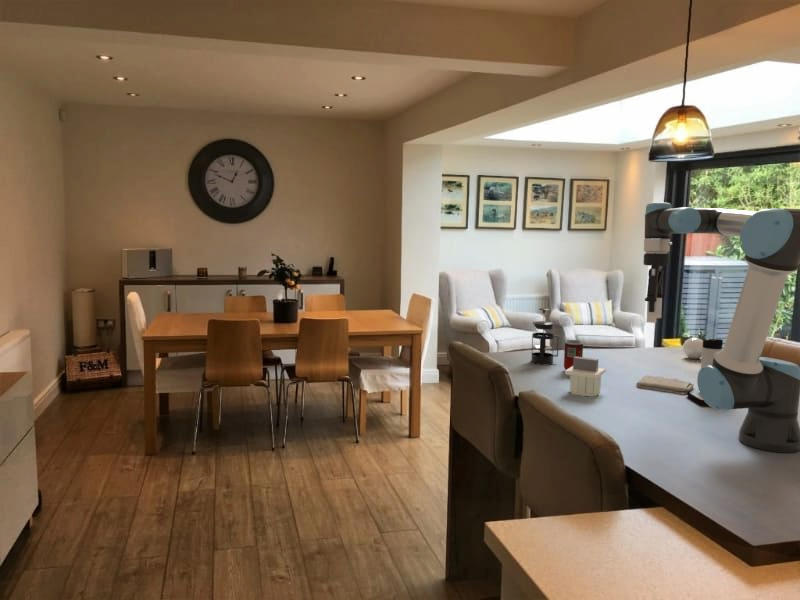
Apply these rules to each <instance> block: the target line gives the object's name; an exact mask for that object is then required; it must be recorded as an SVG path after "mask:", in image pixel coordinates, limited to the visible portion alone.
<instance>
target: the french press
mask: <svg viewBox="0 0 800 600" xmlns="http://www.w3.org/2000/svg"><path fill="white" fill-rule="evenodd" d="M538 310H540V311H542V313H543V317H542V318H543V319H542V320H541V321H540V320H539V321H533V322H532V324H533V325H534V327H535V329H537V330H542V332H533V333H532V337H531V359H530V362H531V363H532V364H536V365H542V364H548V365H553V364H554V363H553V362H554V358H555V357H559V341H560V340H559V339H560V336H559V334H558V335H557V334H554V333H550V332H544V330H548V331H549V330H553V329H554V326H555V322H552V321H548V320H547V321H545V314H546V311H549V310H550V308H545V307H544V308H543V307H541V308H539V309H538ZM555 338H557V346H556V347H557V348H556V354H554V353H550V352H546V351H554V349H555V347H554V346H555ZM534 339H538V340H539V344H538V345H533V344H534ZM546 340H552V346H550V345H546ZM533 350H536V351H539V352H533ZM552 363H553V364H552Z"/></svg>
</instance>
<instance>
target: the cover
mask: <svg viewBox="0 0 800 600" xmlns="http://www.w3.org/2000/svg"><path fill="white" fill-rule="evenodd" d="M606 371H607V370H606V368H603V367H602V368H601V367H599V358H598V359H597V358H590V357H585V356H583V357H574V359H573V366H572V367H570V368H568V369H567V370H564V375H568V376H569V375H575V376H583V377H590V378H598V377H599V376H601V377H602V376H603V374H606Z"/></svg>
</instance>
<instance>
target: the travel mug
mask: <svg viewBox="0 0 800 600" xmlns="http://www.w3.org/2000/svg"><path fill="white" fill-rule="evenodd" d="M702 340H703V346H702V348H703V349H702V357H700V358H701V361H700V369H701V368H702V367H704V366H706V365H712V362H713V359H714V355H715V354H716V353H717V352H719V351H722V350H723V345H724V344H723V343H724V342H723V341H724V340H723V339H720V338H719V339H717V338H709V339H702Z"/></svg>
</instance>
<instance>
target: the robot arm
mask: <svg viewBox="0 0 800 600" xmlns="http://www.w3.org/2000/svg"><path fill="white" fill-rule="evenodd" d="M671 234H680V235H682V234H715V235H721V236H732V237H737V238H739V243H741V244H740V249H741V250H742V252H743V254H744V257H743V259H744V261H745V262H746V264H747V265H748V268H747V271H746V275H745V278H744V280H743V284H742V287H741V291H740V294H739V297H738V300H737V304H736V306H735V309H734V314H733V316H732V320H731V323H730V327H729V329H728V332H727V335H726V339H725V342H724V344H723V345H724V346H723V347H722V351H719V352H717V353H716V354H715V355H714V359H713V362H712V365H706V366H704V367H702V368H701V367H700V369H699V371H698V373H697V377H696V378H697V380H696V381H697V388H698V392H699V391H700V394H699V395H700V396H701V398H702V400H703V401H704V403H705V404H707V405H708V406H709V407H710V408H712V409H714V410H726V411H731V410H738V409H739V410H741V409H747V413H746V415H745V417H744V420H743V421H742V424H741V426H740V428H739V430H738V440H739V441H740V442H741V443H742V444H745V445H747V446H749V447H751V448H755V449H759V450H762V451H768V452H773V453H774V452H775V453H796V452H799V451H800V424H799V421H798V418H799V417H798V414H799V406H800V405H799V404H800V366H799V364H796V363H793V362H790V361H788V360H782V359H779V358H773V357H767V356H765V357H764V356H761V355H762V353H763V349H764V346H765V344H766V340H767V337H768V335H769V331H770V328H771V326H772V323H773V320H774V318H775V317H774V316H775V315H776V311H777V308H778V305H779V302H780V299H781V297H782V294H783V290H784V287H785V284H786V281H787V278H788V277H789V275H790V274H793V273H795V272H797V271H798V269H799V266H800V208H783V207H782V208H781V207H773V208H764V209H760V210H758V211H754V210H741V209H739V210H738V209H732V208H725V207H719V208H717V207H716V208H712V207H711V208H704V207H703V208H702V207H701V208H700V207H699V208H698V207H689V206H681V207H675V208H672V204H671V203H670V202H649V203H647V205H646V206H645V214H644V238H643V239H644V240H643V252H644V254H643V265H644V266H651V267H650V268H649V269H648V274H647V275H648V281H647V282H648V283H647V290H646V291H647V292H646V293H647V294H646V297H644V302H647V304H646V323H651V324H652V323H653V324H656V323H657V319H662V313H663V312H662V311H663V309H662V308H663V307H662V306H663V305H662V304H663V298H665V297H666V296H665V294H664V291H663V288H664V287H663V284H664V282H663V280H664V278H663V277H664V269H663V267H664V266H669V265H670V256H671V255H670V253H669V252H670V251H671V250H670V249H671V248H670V247H671V246H672V245H673V242H672V241H671Z"/></svg>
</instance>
